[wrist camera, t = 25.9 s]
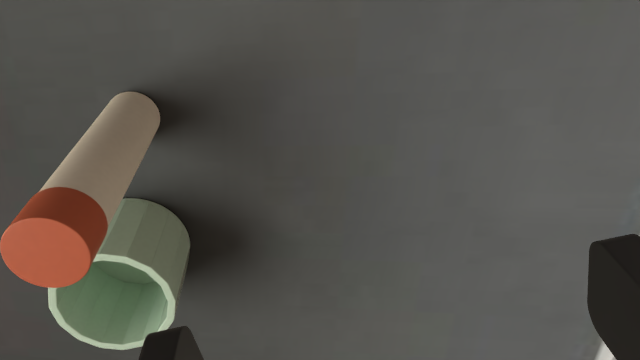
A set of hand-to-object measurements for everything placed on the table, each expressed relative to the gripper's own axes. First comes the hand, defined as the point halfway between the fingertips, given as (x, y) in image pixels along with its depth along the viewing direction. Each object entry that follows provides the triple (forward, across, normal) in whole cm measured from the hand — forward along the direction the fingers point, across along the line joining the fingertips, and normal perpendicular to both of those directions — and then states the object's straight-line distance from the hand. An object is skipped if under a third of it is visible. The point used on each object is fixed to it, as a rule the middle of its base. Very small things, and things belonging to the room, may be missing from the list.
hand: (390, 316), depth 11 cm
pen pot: (+32, +19, +16) cm, 41 cm away
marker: (+32, +15, +5) cm, 36 cm away
